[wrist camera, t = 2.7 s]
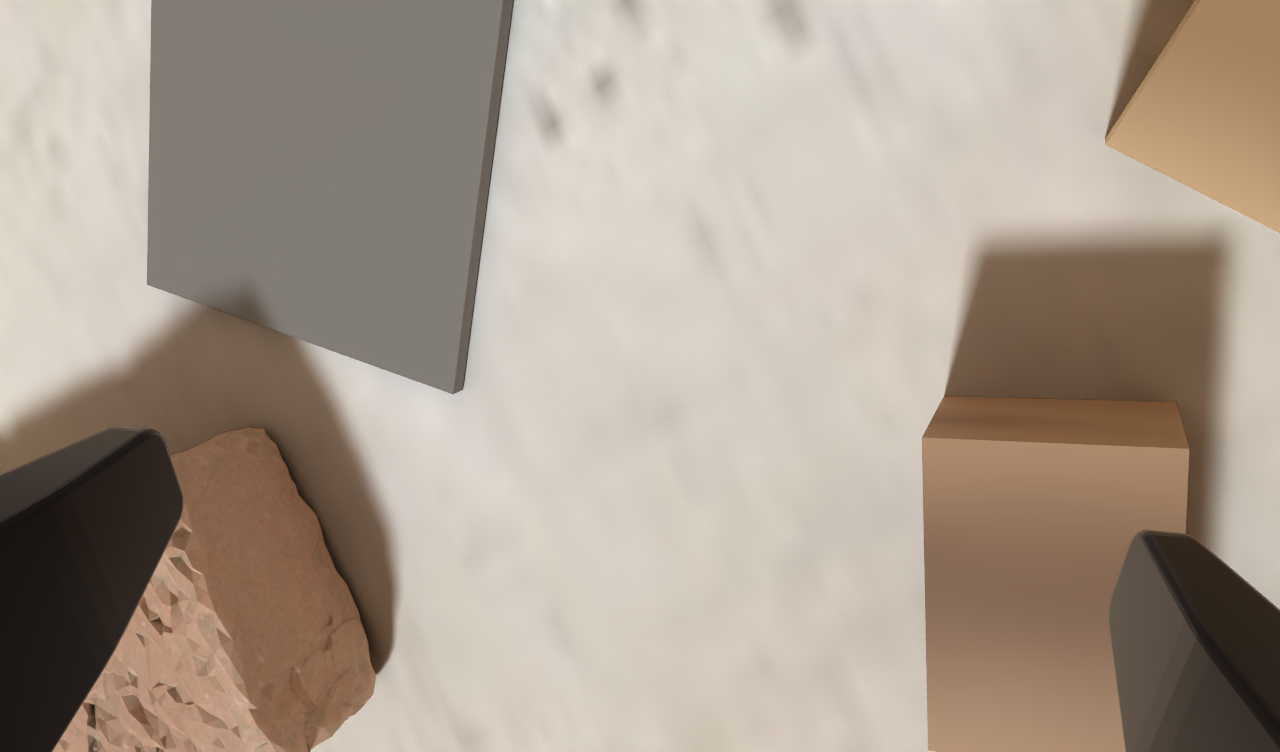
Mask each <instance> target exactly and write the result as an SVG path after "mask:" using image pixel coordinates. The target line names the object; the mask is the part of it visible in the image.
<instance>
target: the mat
mask: <svg viewBox="0 0 1280 752" xmlns="http://www.w3.org/2000/svg"><path fill="white" fill-rule="evenodd" d="M512 6H513V0H152V6H151V69H150V131H149V194H148V257H147V285H150V286H153V287H155V288H158V289H161V290H164V291H166V292H169V293H172V294H175V295H178V296H180V297H183V298H186V299H189V300H192V301H194V302H197V303H200V304H203V305H206V306H208V307H211V308H214V309H217V310H220V311H222V312H225V313H228V314H231V315H233V316H236V317H239V318H242V319H245V320H247V321H250V322H253V323H256V324H259V325H261V326H264V327H267V328H270V329H273V330H275V331H278V332H281V333H284V334H287V335H289V336H292V337H295V338H298V339H300V340H303V341H306V342H309V343H312V344H314V345H317V346H320V347H323V348H326V349H328V350H331V351H334V352H337V353H340V354H342V355H345V356H348V357H351V358H354V359H356V360H359V361H362V362H365V363H368V364H370V365H373V366H376V367H379V368H381V369H384V370H387V371H390V372H393V373H395V374H398V375H401V376H404V377H407V378H409V379H412V380H415V381H418V382H421V383H423V384H426V385H429V386H432V387H435V388H437V389H440V390H443V391H446V392H448V393H451V394H454V393H457V392H459V391H461V390H463V382H464V375H465V367H466V359H467V352H468V344H469V336H470V329H471V321H472V313H473V306H474V298H475V290H476V283H477V275H478V267H479V259H480V252H481V244H482V236H483V229H484V221H485V213H486V206H487V198H488V190H489V183H490V175H491V167H492V160H493V152H494V144H495V136H496V129H497V121H498V113H499V106H500V98H501V90H502V83H503V75H504V67H505V60H506V52H507V44H508V37H509V29H510V21H511V13H512Z"/></svg>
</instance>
